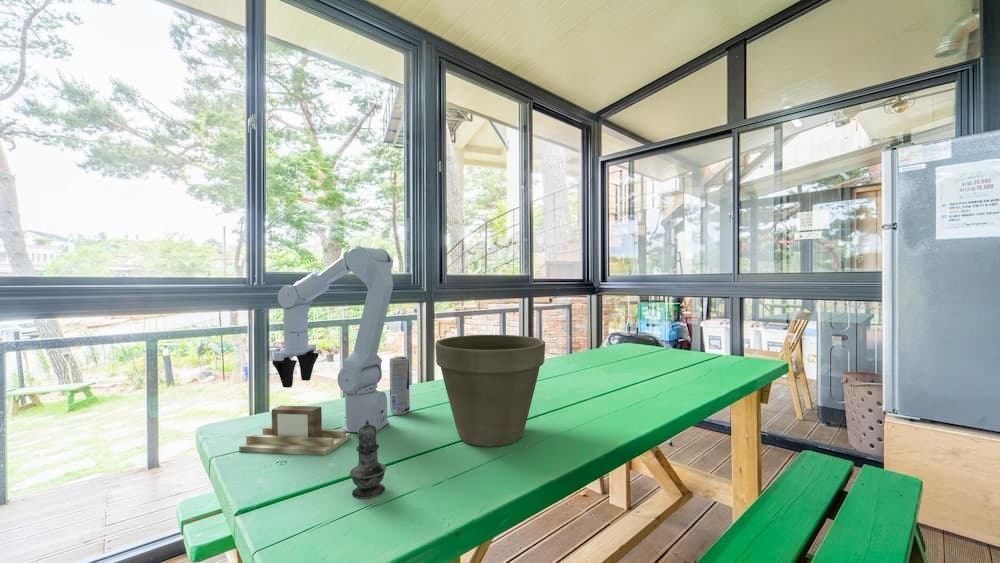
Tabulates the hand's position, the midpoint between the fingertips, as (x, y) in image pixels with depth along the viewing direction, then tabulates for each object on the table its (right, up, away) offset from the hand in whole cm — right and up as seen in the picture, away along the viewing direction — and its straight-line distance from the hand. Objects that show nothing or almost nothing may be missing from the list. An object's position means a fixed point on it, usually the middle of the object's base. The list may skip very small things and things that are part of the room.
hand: (297, 383), depth 111 cm
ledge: (+8, -9, -18) cm, 22 cm away
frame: (+9, -8, -18) cm, 21 cm away
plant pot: (+51, -8, -15) cm, 54 cm away
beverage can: (+26, -9, +4) cm, 28 cm away
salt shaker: (+31, -9, -40) cm, 51 cm away
